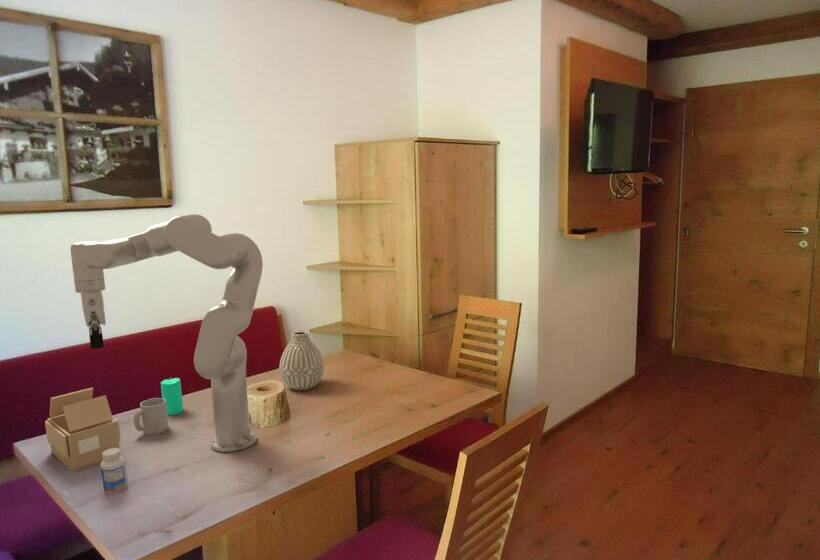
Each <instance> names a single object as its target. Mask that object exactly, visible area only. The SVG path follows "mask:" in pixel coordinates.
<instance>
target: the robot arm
mask: <svg viewBox="0 0 820 560" xmlns="http://www.w3.org/2000/svg"><path fill="white" fill-rule="evenodd" d="M212 231H213V228H212V224H211V223H210V220H209V219H207V218H206V217H205V216H203V215H202V214H201V215H200V214H197V213H196V214H195V213H193V214H185V215H178V216H174V217H173V218H171V219H170V220H168V221H164V222H161V223H158V224H154V225H151V226H149V227H148V228H147V230H146V231H144V232H141V233H137V234H134V235H130V236H128V237H122V238H117V239H112V240H106V241H101V242H97V241H92V240H91V241H89V240H88V241H79V242H73V243H72V244H71V245H70V258H71V263H72V264H71V265H72V273H73V274H72V275H73V281H74V290H75V291H74V292H75V293H77V294H78V293H79V294H80V297H81V305H82V312H83V317H84V321H85V324H86V327H87V328H88V331H89V343H90V349H92V350H95V349H102V348H103V349H104V347H105V346H104V338H103V332H102V326H101V325H103V326H106V324H107V322H106V313H105V306H104V296H103V292H102V291H105V290H106V284H105V275H104V274H105V273H104V270H110V269H114V268H118V267H121V266H126V265H130V264H134V263H137V262H140V261H143V260H147V259H151V258H154V257H162V256H166V255H170V254H173V253H176V252H180V253H182V254H184V255H186V257H187V256H188V257H189V258H191V259H193V260H195V261H196V262H199V263H201V264H203V265H205V266H206V267H209V268H211V269H215V270H225V269H229V268H230V267H231V271H230V274H229V276H228V278H227V280H226V282H225V288H224V292H223V296H222V300H221V301H220V303H219V304H217V305H215V306H213V307H212V308H210V309H209V310H208V311H207V312H206V313H205V316H203V319H202V321H201V325H200V329H199V333H198V337H197V342H196V345H195V350H194V354H193V364H194V368H195V370H196V372H197V373H198V375H199V376H201V378H204V379H207V380H210V385H211V386H210V387H211V388H210V389H211V398H212V399H211V400H212V410H213V411H212V412H213V413H212V414H213V421H214V424H213V425H214V434H215V436H214V437H213V438H211V440H210V448H211V449H212V450H214V451H216V452H221V453H222V452H223V453H230V452H238V451H241V450H244V449H247V448H249V447H251V446H253V445H254V444H255V443H256V442H257V434H256V433H255V432H253V431H251V427H250V426H251V424H250V423H251V422H250V412H249V402H248V401H249V400H248V398H249V397H248V386H247V359H248V356H247V355H248V354H247V346H246V344H245V342H244V340H243V339H242V338H241V337H240V336H238V335H239V334H241V333H243V332H244V331H245V330H246V329H248V327H249V326H250V324H251V321H252V316H253V312H254V309H255V303H256V299H257V295H258V290H259V286H260V283H261V278H262V274H263V266H264V265H263V264H264V263H263V257H262V253H261V251H260V249H259V247H258V245H257V243H256V242H255V241H254V240H253V239H251V238H250V237H249V236H247V235H245V234H241V233H238V232H237V233H233V232H232V233H227V234H223V235H220V236H219V235H217V234H215V233H213V232H212Z"/></svg>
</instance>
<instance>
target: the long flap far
mask: <svg viewBox="0 0 820 560" xmlns="http://www.w3.org/2000/svg"><path fill="white" fill-rule="evenodd" d="M93 394H94V387H89V388H88V387H87V388H85V389H80V390H78V391H77V390H76V391H73V392H68V393H66V394H61V395H57V396H52V397H50V403H49V404H50V405H49V418H52V417H56V416H59V415H63V414H64V411H63V406H66V405H70V404H74V403H78V402H81V401H85V400H89V399H93Z"/></svg>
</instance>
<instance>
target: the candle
mask: <svg viewBox="0 0 820 560" xmlns="http://www.w3.org/2000/svg"><path fill="white" fill-rule="evenodd" d="M181 385H182V383H181V379H180V377H174V378H169V379H163V380H162V381H161V382H160V389H161V390H160V391H161V398H163V399H165V400H166V407H167V416H171V415H172V416H174V415H177V414H181V413H182V412H183V411H184V405H183V393H182V386H181Z"/></svg>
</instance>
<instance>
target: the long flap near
mask: <svg viewBox="0 0 820 560" xmlns="http://www.w3.org/2000/svg"><path fill="white" fill-rule="evenodd" d="M63 411H64V413H63V414H65V418H66V421H67V425H68V428H69V431H70V432H72V431H75V430H79V429H82V428H86V427H89V426H92V425H96V424H99V423H103V422H106V421H110V420H113V418H114V417H113V414H112V411H111V408H110V405H109V401H108V399H107V395H101V396H97V397H94V398H93V397H92V399H89V400H85V401H81V402H78V403H74V404H70V405H66V406H63Z"/></svg>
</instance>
